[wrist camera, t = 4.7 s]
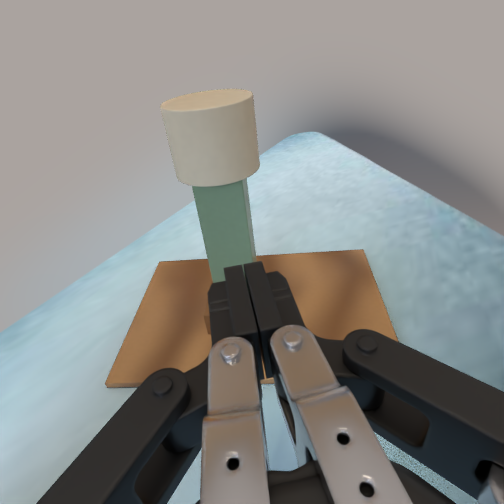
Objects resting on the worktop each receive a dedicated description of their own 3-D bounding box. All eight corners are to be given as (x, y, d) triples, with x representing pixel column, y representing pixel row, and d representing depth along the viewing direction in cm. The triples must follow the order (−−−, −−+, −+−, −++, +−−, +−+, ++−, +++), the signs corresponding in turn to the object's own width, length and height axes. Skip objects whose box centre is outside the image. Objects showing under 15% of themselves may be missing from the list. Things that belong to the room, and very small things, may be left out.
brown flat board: (106, 387, 24) (104, 383, 24) (160, 265, 36) (159, 261, 35) (410, 380, 22) (411, 375, 22) (362, 253, 34) (363, 249, 33)
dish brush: (206, 339, 26) (147, 114, 17) (215, 294, 30) (172, 94, 21) (274, 337, 25) (250, 104, 17) (274, 292, 30) (254, 85, 21)
